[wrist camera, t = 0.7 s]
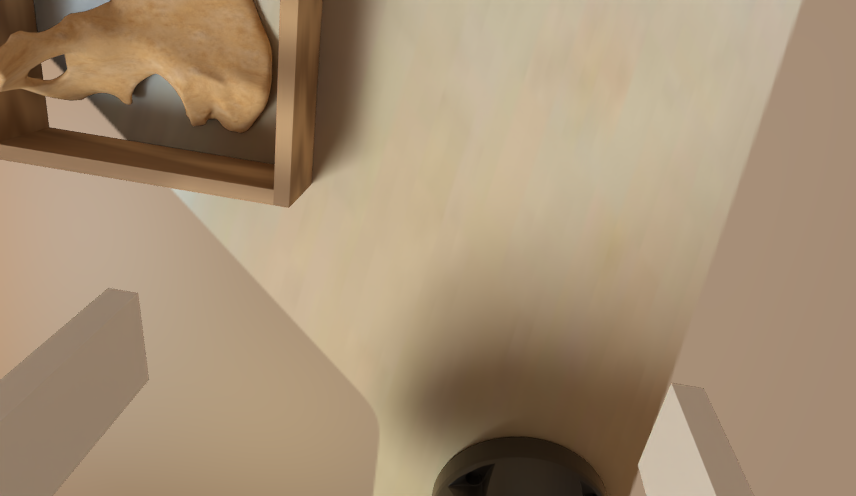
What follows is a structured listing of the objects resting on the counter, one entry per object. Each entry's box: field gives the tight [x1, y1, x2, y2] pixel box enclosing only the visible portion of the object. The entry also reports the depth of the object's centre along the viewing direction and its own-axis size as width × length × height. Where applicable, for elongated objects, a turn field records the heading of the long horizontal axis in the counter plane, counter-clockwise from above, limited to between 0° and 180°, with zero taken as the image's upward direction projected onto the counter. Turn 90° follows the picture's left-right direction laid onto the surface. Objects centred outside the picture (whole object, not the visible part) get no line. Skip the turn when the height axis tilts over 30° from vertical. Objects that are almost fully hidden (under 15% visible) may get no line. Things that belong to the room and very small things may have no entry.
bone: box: [0, 0, 272, 133], centre depth 36 cm, size 10×10×15 cm
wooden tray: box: [0, 0, 323, 208], centre depth 36 cm, size 16×20×5 cm
